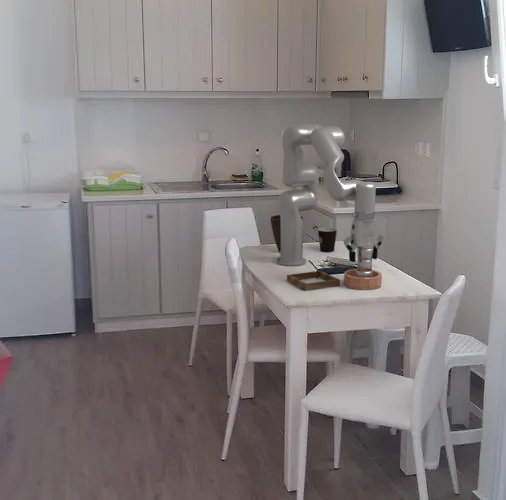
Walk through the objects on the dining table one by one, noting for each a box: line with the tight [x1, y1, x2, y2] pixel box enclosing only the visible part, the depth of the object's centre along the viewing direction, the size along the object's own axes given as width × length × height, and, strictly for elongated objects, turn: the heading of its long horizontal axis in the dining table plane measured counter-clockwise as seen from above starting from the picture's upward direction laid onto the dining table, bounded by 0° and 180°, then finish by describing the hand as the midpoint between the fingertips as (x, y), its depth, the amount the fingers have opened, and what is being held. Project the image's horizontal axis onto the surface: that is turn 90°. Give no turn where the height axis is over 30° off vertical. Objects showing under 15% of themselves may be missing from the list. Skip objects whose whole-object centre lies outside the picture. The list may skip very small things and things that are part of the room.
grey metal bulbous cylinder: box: [355, 243, 374, 278], centre depth 266 cm, size 6×7×20 cm
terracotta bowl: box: [343, 268, 383, 291], centre depth 268 cm, size 14×14×4 cm
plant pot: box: [270, 214, 304, 253], centre depth 322 cm, size 15×15×16 cm
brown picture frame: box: [286, 270, 341, 292], centre depth 271 cm, size 15×15×2 cm
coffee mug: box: [317, 227, 338, 253], centre depth 325 cm, size 12×9×10 cm
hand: (363, 260), depth 266 cm, fingers open, 9 cm apart
